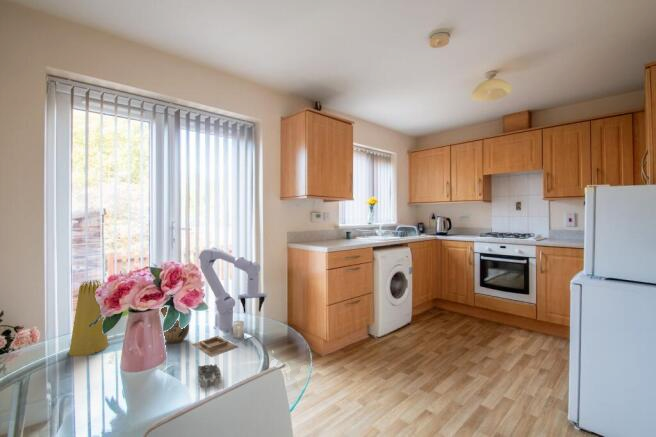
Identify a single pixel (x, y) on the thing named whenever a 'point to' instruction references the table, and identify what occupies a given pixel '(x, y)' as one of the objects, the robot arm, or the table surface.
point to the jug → (238, 329)
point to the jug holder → (214, 346)
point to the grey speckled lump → (208, 375)
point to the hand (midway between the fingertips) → (252, 311)
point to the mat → (230, 338)
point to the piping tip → (87, 323)
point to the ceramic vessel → (175, 331)
